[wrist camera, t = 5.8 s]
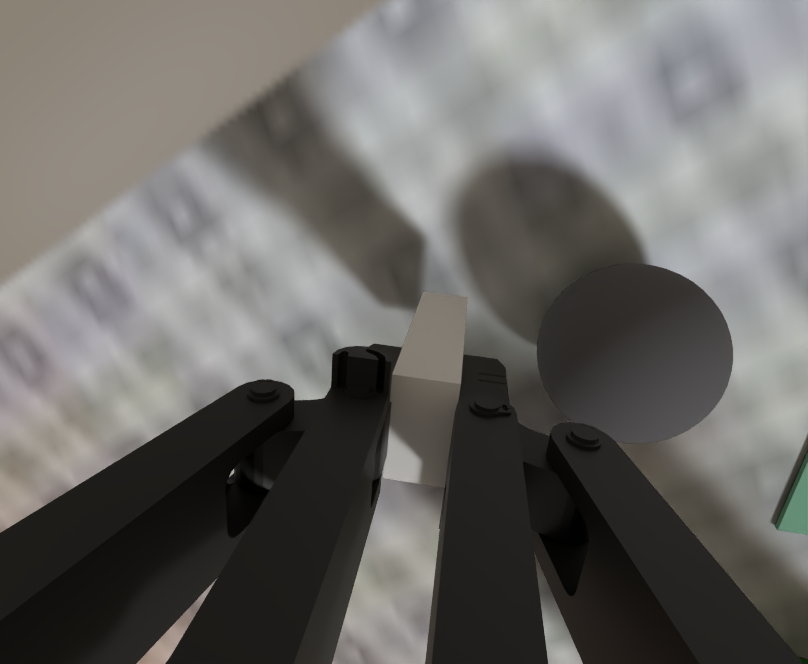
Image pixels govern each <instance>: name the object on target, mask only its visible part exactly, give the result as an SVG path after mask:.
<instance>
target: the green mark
mask: <svg viewBox="0 0 808 664" xmlns="http://www.w3.org/2000/svg"><path fill="white" fill-rule="evenodd" d="M775 527H776V528H777V530H781V531H787V532H793V533H799V534H806V535H808V452H807V454H806V457H805V459H804V461H803V464H802V466H801V468H800V470H799V473H798V475H797V477H796V480H795V482H794V484H793V486H792V489H791V491H790V493H789V496H788V498H787V500H786V503H785V505H784V507H783V509H782V512H781V514H780V516H779V519H778V521H777V523H776V525H775Z"/></svg>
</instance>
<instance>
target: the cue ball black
mask: <svg viewBox="0 0 808 664" xmlns="http://www.w3.org/2000/svg"><path fill="white" fill-rule="evenodd" d="M537 361H538V369H539V373H540V377H541V380H542V382H543V385H544V387H545V389H546V391H547V393H548V394H549V396H550V398H551V400H552V401H553V402H554V404H555V405H556V407H557V408H558V409H559V410H560V411H561V412H562V413H563V414H564V415H565V416H566V417H567V418H568V419H570V420H571V421H572V422H573V423H583V424H587V425H588V426H589V425H590V426H593V427H596V428H597V429H599V430H600V431H602V432H604V433H606V434H607V435H609V436H610V437H611V438H612V439H613V440H614V441H616V442H623V443H651V442H657V441H662V440H666V439H669V438H672V437H674V436H677V435H679V434H681V433H683V432H685V431H687V430H689V429H690V428H692V427H693V426H695V425H696V424H698V423H699V422H700V421H702V420H703V419H704V418H705V417H706V416H707V415H708V414H709V413H710V412H711V411H712V410H713V409H714V408H715V406H716V405H717V403H718V402H719V401H720V399H721V398H722V396H723V394H724V392H725V390H726V388H727V385H728V381H729V378H730V375H731V371H732V364H733V346H732V340H731V335H730V332H729V329H728V326H727V323H726V320H725V319H724V317H723V315H722V313H721V311H720V309H719V308H718V307H717V305H716V304H715V303H714V301H713V300H712V299H711V298H710V297H709V296H708V295H707V294H706V293H705V292H704V290H703V289H701V288H700V287H699V286H697V285H696V284H695V283H694V282H692V281H691V280H689V279H687V278H685V277H684V276H682V275H680V274H677V273H675V272H672V271H670V270H667V269H664V268H661V267H657V266H652V265H645V264H622V265H615V266H610V267H606V268H602V269H599V270H597V271H594V272H591V273H589V274H587V275H585V276H583V277H581V278H580V279H578V280H577V281H575V282H574V283H572V284H571V285H570V286H569V287H568V288H566V289H565V290H564V291H563V292H562V293H561V294H560V295H559V296H558V297H557V299H556V300H555V301H554V302H553V304H552V305H551V307H550V308H549V310H548V312H547V314H546V316H545V318H544V320H543V322H542V325H541V328H540V331H539V336H538V341H537Z"/></svg>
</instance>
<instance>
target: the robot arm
mask: <svg viewBox="0 0 808 664" xmlns="http://www.w3.org/2000/svg"><path fill="white" fill-rule="evenodd" d="M467 301H468V297H461V296H453V295H445V294H437V293H429V292H423V294H422V296H421V299H420V302H419V304H418V307H417V310H416V312H415V315H414V318H413V320H412V323H411V326H410V328H409V331H408V334H407V336H406V339H405V342H404V344H403V347H394V346H387V345H380V344H373V345H371V346H369V347H364V346H353V347H345V348H342V349H339V350H337V351H336V352H334V353H333V358H332V382H331V388H330V390H329V392H328V393H327V395H326V397H325V398H323V399H317V400H295V401H294V390H293V389H292V388H291V387H290V386H289V385H287V384H285V383H282V382H278V381H273V380H268V379H266V380H265V379H263V380H257V381H253V382H248V383H245V384H243V385H241V386H239V387H237V388H235V389H234V390H232V391H230V392H229V393H227V394H226V395H224V396H222V397H221V398H219V399H217V400H216V401H214V402H213V403H211V404H209V405H208V406H206V407H204V408H203V409H201V410H199V411H198V412H196V413H195V414H193V415H191V416H190V417H188V418H186V419H185V420H183V421H182V422H180V423H178V424H177V425H175V426H173V427H172V428H170V429H169V430H167V431H165V432H164V433H162V434H160V435H159V436H157V437H156V438H154V439H152V440H151V441H149V442H147V443H146V444H144V445H143V446H141V447H139V448H138V449H136V450H134V451H133V452H131V453H130V454H128V455H126V456H125V457H123V458H121V459H120V460H118V461H117V462H115V463H113V464H112V465H110V466H108V467H107V468H105V469H104V470H102V471H100V472H99V473H97V474H95V475H94V476H92V477H91V478H89V479H87V480H86V481H84V482H82V483H81V484H79V485H78V486H76V487H74V488H73V489H71V490H69V491H68V492H66V493H65V494H63V495H61V496H60V497H58V498H56V499H55V500H53V501H52V502H50V503H48V504H47V505H45V506H43V507H42V508H40V509H39V510H37V511H35V512H34V513H32V514H30V515H29V516H27V517H26V518H24V519H22V520H21V521H19V522H17V523H16V524H14V525H13V526H11V527H9V528H8V529H6V530H4V531H3V532H1V533H0V664H136V663H137V662H138V661H139V660H140V659H141V658H142V657H143V656H144V655H145V654H146V653H147V652H148V651H149V649H150V648H151V647H152V646H153V645H154V644H155V643H156V642H157V641H158V640H159V639H160V638H161V637H162V636H163V635H164V634H165V633H166V631H167V630H168V629H169V628H170V627H171V626H172V625H173V624H174V623H175V622H176V621H177V620H178V619H179V618H180V617H181V616H182V615H183V613H184V612H185V611H186V610H187V609H188V608H189V607H190V606H191V605H192V604H193V603H194V602H195V601H196V600H197V599H198V598H199V597H200V595H201V594H202V593H203V592H204V591H205V590H206V589H207V588H208V587H209V586H210V585H211V584H212V583H213V582H214V581H215V580H216V579H217V580H216V581H215V583H214V585H213V586H212V588H211V590H210V591H209V593H208V595H207V596H206V598H205V600H204V602H203V603H202V605H201V607H200V608H199V610H198V612H197V613H196V615H195V617H194V618H193V620H192V622H191V623H190V625H189V627H188V628H187V630H186V632H185V633H184V635H183V637H182V638H181V640H180V642H179V643H178V645H177V647H176V649H175V650H174V652H173V654H172V655H171V657H170V658H169V659H168V661H167V662H166V664H332V661H333V657H334V654H335V650H336V646H337V643H338V639H339V636H340V632H341V629H342V625H343V621H344V618H345V614H346V611H347V607H348V604H349V600H350V597H351V593H352V589H353V586H354V582H355V579H356V575H357V572H358V568H359V565H360V561H361V557H362V554H363V550H364V547H365V543H366V540H367V536H368V532H369V529H370V525H371V522H372V518H373V515H374V511H375V508H376V504H377V500H378V497H379V493H380V486H381V475H382V470H383V467H384V472H383V478H386V479H392V480H398V481H404V482H410V483H417V484H423V485H429V486H435V487H441V488H445V490H444V497H443V504H442V511H441V518H440V525H439V529H440V532H439V542H438V551H437V560H436V569H435V579H434V588H433V597H432V606H431V616H430V625H429V634H428V643H427V652H426V662H425V664H548V659H547V651H546V643H545V635H544V627H543V619H542V611H541V603H540V596H539V588H538V580H537V572H536V564H535V556H534V552H535V554H536V557H537V559H538V561H539V563H540V566H541V568H542V570H543V573H544V575H545V577H546V579H547V582H548V584H549V586H550V589H551V591H552V593H553V596H554V598H555V600H556V602H557V605H558V607H559V609H560V612H561V614H562V616H563V618H564V621H565V623H566V625H567V628H568V630H569V632H570V634H571V637H572V639H573V641H574V644H575V646H576V648H577V651H578V653H579V655H580V657H581V660H582V662H583V664H803V663H802V662H801V661H800V659H799V658H798V657H797V656H796V655H795V653H794V652H793V651H792V650H791V649H790V648H789V646H788V645H787V644H786V643H785V642H784V640H783V639H782V638H781V637H780V636H779V635H778V633H777V632H776V631H775V630H774V629H773V627H772V626H771V625H770V624H769V623H768V622H767V620H766V619H765V618H764V617H763V616H762V614H761V613H760V612H759V611H758V610H757V609H756V607H755V606H754V605H753V604H752V603H751V601H750V600H749V599H748V598H747V597H746V596H745V594H744V593H743V592H742V591H741V590H740V588H739V587H738V586H737V585H736V584H735V583H734V581H733V580H732V579H731V578H730V577H729V575H728V574H727V573H726V572H725V571H724V570H723V568H722V567H721V566H720V565H719V564H718V562H717V561H716V560H715V559H714V558H713V557H712V555H711V554H710V553H709V552H708V551H707V549H706V548H705V547H704V546H703V545H702V544H701V542H700V541H699V540H698V539H697V538H696V536H695V535H694V534H693V533H692V532H691V531H690V529H689V528H688V527H687V526H686V525H685V523H684V522H683V521H682V520H681V519H680V518H679V516H678V515H677V514H676V513H675V512H674V510H673V509H672V508H671V507H670V506H669V505H668V503H667V502H666V501H665V500H664V499H663V497H662V496H661V495H660V494H659V493H658V491H657V490H656V489H655V488H654V487H653V486H652V484H651V483H650V482H649V481H648V480H647V478H646V477H645V476H644V475H643V474H642V473H641V471H640V470H639V469H638V468H637V467H636V465H635V464H634V463H633V462H632V461H631V460H630V458H629V457H628V456H627V455H626V454H625V452H624V451H623V450H622V449H621V448H620V447H619V445H618V444H617V443H616V442H615V441H614V440H613V439H612V438H611V437H610V436H609V435H607V434H606V433H604V432H602V431H600V430H599V429H597V428H596V427H593V426H590V425H589V426H588V425H587V424H583V423H560V424H558V425H556V426H554V427H553V429H552V431H551V433H550V436H547V435H544V434H541V433H538V432H535V431H533V430H530V429H528V428H526V427H524V426H523V425H521V424H520V423H518V421H517V413H516V411H515V409H514V408H513V407H512V406H511V405H510V404H509V397H508V388H507V378H506V369H505V367H504V366H503V365H502V364H501V363H500V362H499V361H498V360H497V359H492V358H485V357H478V356H470V355H463V351H464V339H465V326H466V314H467ZM233 469H234V474H233V475H231V476H230V473H231V471H232V470H233ZM229 476H230V477H229ZM217 577H218V578H217Z"/></svg>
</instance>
